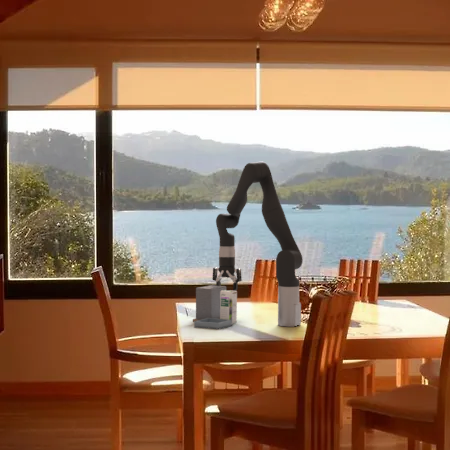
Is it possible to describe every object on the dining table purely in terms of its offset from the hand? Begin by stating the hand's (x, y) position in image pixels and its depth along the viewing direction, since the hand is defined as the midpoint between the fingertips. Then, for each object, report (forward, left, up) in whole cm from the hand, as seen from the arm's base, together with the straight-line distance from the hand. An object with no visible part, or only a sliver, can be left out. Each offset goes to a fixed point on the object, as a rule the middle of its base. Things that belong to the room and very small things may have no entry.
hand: (226, 290), depth 389 cm
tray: (-10, +31, -12) cm, 35 cm away
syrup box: (-11, +19, -12) cm, 25 cm away
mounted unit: (0, +15, -12) cm, 19 cm away
